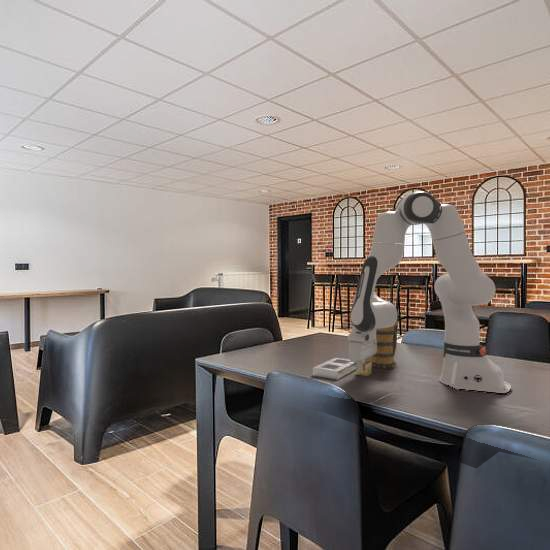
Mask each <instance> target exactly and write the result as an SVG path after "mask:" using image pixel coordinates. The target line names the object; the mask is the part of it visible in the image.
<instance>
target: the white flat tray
mask: <svg viewBox="0 0 550 550" xmlns="http://www.w3.org/2000/svg"><path fill="white" fill-rule="evenodd" d="M354 371H356V362H351V361H350V359H349V358H342V357H341V358H339V357H333V358H331V359H329V360H327V361H324V362H323V363H321V364H318V365H316V366H313V367H312V376H313V377H319V378H320V377H321V378H326V379H331V380H337V381H338V380H339V379H342V378H344V377H345V376H347V375H349V374H350V373H352V372H354Z"/></svg>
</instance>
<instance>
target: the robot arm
mask: <svg viewBox="0 0 550 550" xmlns="http://www.w3.org/2000/svg"><path fill="white" fill-rule="evenodd" d="M421 224H423V225H425V226H426V227H427V229H428V230H429V232H430V236H431V241H432V244H433V249H434V253H435V256H436V259H437V261H438V263H439V264H440V265H441V266H442V267H443V268H444V270H445V271H446V273H445V274H442V275H440V276H439V277H438V278H436V279H435V281H434V286H433V288H434V293H435V294H436V296H437V297H438V299H439V302H440V304H441V309H442V312H443V317H444V318H443V319H444V342H443V346H442V347H443V348H442V355H443V356H442V357H443V365H442V369H441V374H440V377H439V382H440V383H442V384H444V385H446V386H448V385H449V386H448V387H451V388H452V387H453V388H452V389H454V388H455V389H454V390H459V389H466V390H465V391H468V390H477V391H489V392H508V391H509V390H510V389H511V390H512V386H511V384H510V383H509V382H507V381H505V378H504V372H503V371H502V368H501V367H500V366H499V365H497V364H495V362H493V361H492V360H491V359H489V358H488V356H486V354H487V350H486V349H487V348H486V346H484V345H481V344H480V320H479V319H478V317H476V314H475V313H474V309H473V306H475V307H476V306H482V305H486V304H489V303H490V302H491V301H492V300H493V299H494V297H495V296H496V285H495V283H494V281H493V280H492V279H491V278H490V277H489V276H487V275H486V273H484V271H483V270H482V269H481V267H480V266H479V264H478V262H477V260H476V258H475V257H474V255H473V253H472V250H471V247H470V243H469V239H468V235H467V233H466V229H465V227H464V223H463V221H462V218H461V215H460V214H459V211H458V209H457V208H456V207H455V206H454V205H453V204H449V203H444V204H442V203H440V202H439V200H437V199H436V198H435V197H434V196H433V195H432V194H430V193H429V192H427V191H423V190H421V191H419V190H418V191H414V192H411V193H409V194H407V195H405V196H404V197H403V198H401V200H399V202H398V203H397V205H396V206H395V207H394V208H393V210H392V211H390V210H389V211H385V212H382V213H380V214H379V215H378V216H377V218H376V221H375V226H374V230H373V235H372V243H371V244H372V245H371V249H370V251H369V255H368V257H367V258H366V259H364V262H363V264H362V267H361V271H360V276H359V280H358V283H357V284H358V285H357V288H356V293H355V295H354V297H353V301H352V306H351V308H350V312H349V319H350V320H349V321H350V322H351V324H352V329H351V330H350V332H349V334H348V335H347V340H348V341H349V343H348V360H350V361H351V362H356V363H357V366H358V371H359V372H363V371H364V367H363V361H368V362H370V360H371V356H373V355H375V354H376V353H377V339H376V329H382V328H388V327H392V326H394V325H395V324H396V322H397V323H398V318H399V312H398V308H397V307H396V305H394V304H393V302H389V301H387V300H384V299H383V298H381V297H379V296H378V295H377V293H376V292H375V291H376V287H377V281H378V279H379V278H380V277H381V275H383V274H384V273H385V272H387V271H390V270H391V269H393V268H395V267H396V266H397V265H399V264H400V262H402V259H403V257H404V253H405V243H406V242H405V241H406V240H405V239H406V233H407V231H408V228H410V227H411V226H416V225H417V226H418V225H421ZM477 391H476V392H477Z"/></svg>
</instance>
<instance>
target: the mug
mask: <svg viewBox="0 0 550 550" xmlns="http://www.w3.org/2000/svg"><path fill="white" fill-rule="evenodd" d="M398 325H399V323H398V321H397V322H396V324H395V325H394V326H392V327H388V328H382V329H376V339H377V353H376V354H375V355H373V356H371V360H370V362H372V368H375V369H382V370H387V369H389V370H390V369H394V368H395V367H396V365H397V364H398V363H396V361H395V360H394V357H395V354H396V349H397V342H398V336H397V334H398V333H397V332H398V331H397V326H398Z"/></svg>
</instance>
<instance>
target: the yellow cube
mask: <svg viewBox="0 0 550 550" xmlns="http://www.w3.org/2000/svg"><path fill="white" fill-rule="evenodd" d="M363 367H364V371H363V372H359V371H358V366H357V363H356V370H355V375H358V376H362V377H369V376H370V375H371V374H372V368H373V367H372V362H368V361H365V360H363Z"/></svg>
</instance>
